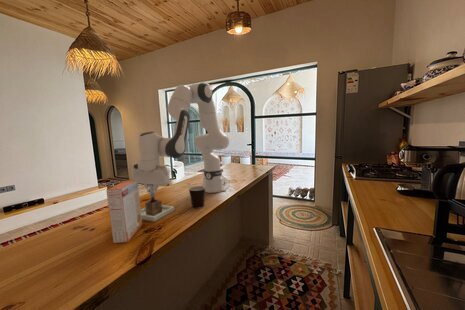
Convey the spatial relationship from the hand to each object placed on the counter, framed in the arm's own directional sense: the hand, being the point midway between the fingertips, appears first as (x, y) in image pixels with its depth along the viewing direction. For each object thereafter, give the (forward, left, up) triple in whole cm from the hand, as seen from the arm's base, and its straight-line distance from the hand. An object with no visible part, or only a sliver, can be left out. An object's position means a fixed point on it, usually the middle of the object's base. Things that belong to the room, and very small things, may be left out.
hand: (152, 192), depth 99 cm
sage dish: (0, 0, -11) cm, 11 cm away
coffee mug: (-18, +15, -11) cm, 26 cm away
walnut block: (0, 0, -11) cm, 11 cm away
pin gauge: (0, 0, -5) cm, 5 cm away
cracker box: (+19, +5, -11) cm, 23 cm away
